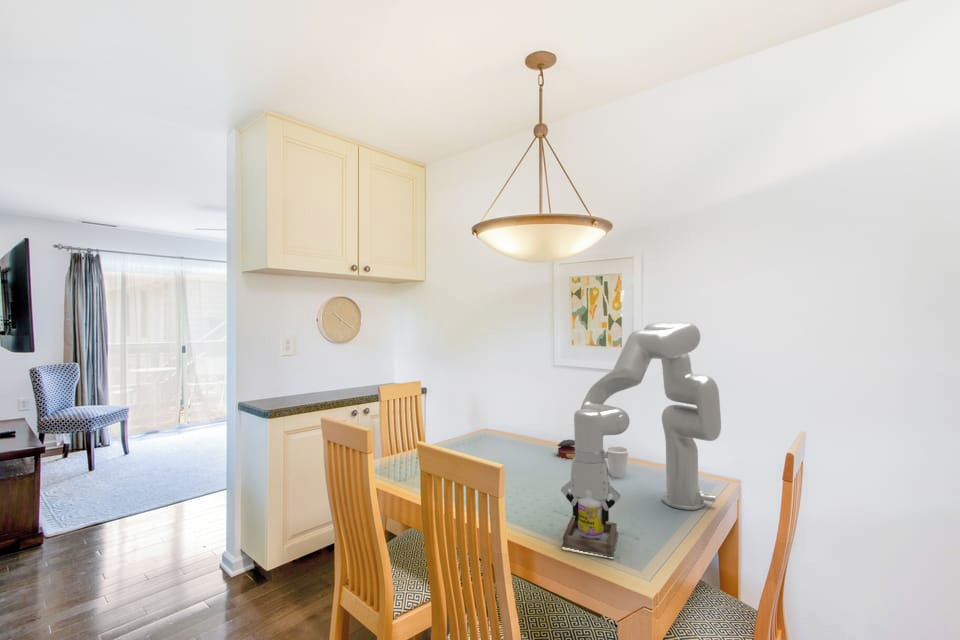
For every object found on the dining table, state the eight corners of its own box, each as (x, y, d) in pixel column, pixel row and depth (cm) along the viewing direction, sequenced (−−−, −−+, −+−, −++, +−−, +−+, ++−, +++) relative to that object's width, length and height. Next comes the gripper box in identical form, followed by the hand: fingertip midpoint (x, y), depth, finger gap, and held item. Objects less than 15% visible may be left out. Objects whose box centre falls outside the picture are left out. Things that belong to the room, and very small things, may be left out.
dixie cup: (625, 480, 161) (625, 453, 161) (603, 476, 166) (602, 450, 166) (631, 473, 168) (631, 447, 168) (610, 469, 173) (609, 444, 173)
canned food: (559, 468, 190) (548, 447, 192) (569, 459, 198) (558, 439, 199) (580, 460, 183) (568, 438, 185) (589, 451, 191) (578, 430, 193)
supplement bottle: (573, 534, 118) (572, 487, 118) (586, 525, 123) (585, 480, 123) (595, 542, 114) (594, 494, 113) (608, 533, 118) (607, 486, 118)
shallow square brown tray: (618, 535, 122) (618, 522, 122) (613, 560, 110) (613, 546, 110) (571, 527, 127) (570, 515, 127) (561, 550, 115) (561, 536, 115)
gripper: (623, 454, 118) (625, 519, 118) (560, 448, 125) (562, 510, 125) (621, 463, 111) (622, 532, 111) (554, 456, 118) (556, 522, 118)
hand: (590, 520), depth 118 cm, fingers closed on supplement bottle, 6 cm apart
